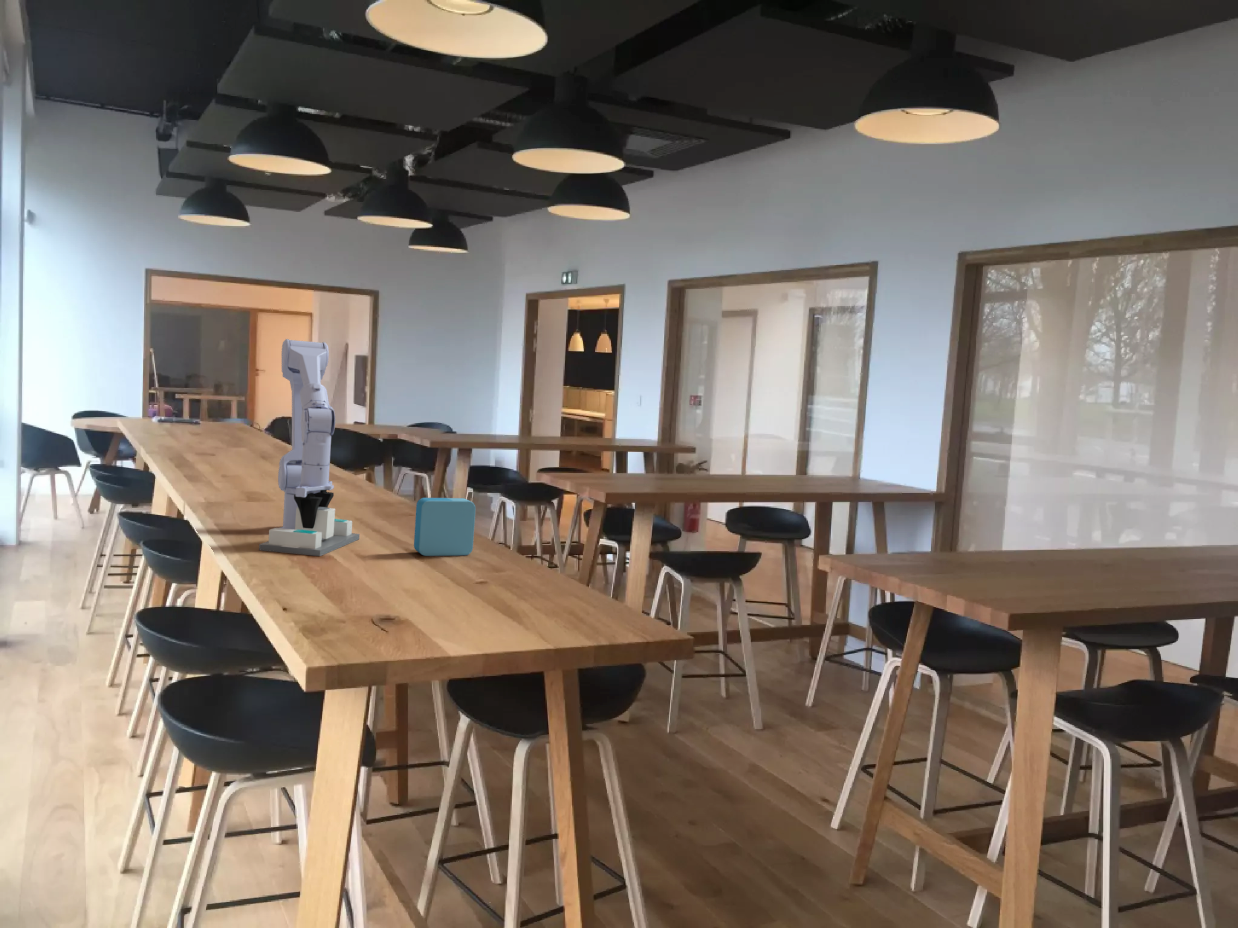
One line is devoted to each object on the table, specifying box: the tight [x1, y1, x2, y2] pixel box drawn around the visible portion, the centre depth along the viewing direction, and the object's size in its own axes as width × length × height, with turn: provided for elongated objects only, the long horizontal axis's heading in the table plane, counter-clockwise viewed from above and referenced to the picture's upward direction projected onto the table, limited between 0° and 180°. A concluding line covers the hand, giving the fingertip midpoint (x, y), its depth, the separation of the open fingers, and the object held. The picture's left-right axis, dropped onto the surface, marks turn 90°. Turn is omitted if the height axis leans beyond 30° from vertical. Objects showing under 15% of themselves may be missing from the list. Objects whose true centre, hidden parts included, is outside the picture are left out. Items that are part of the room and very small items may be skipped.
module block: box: [295, 507, 336, 539], centre depth 208 cm, size 4×7×6 cm, turn 85°
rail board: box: [258, 518, 360, 557], centre depth 208 cm, size 22×13×4 cm, turn 175°
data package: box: [413, 497, 476, 557], centre depth 209 cm, size 12×4×12 cm, turn 118°
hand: (312, 526), depth 208 cm, fingers closed on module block, 4 cm apart
